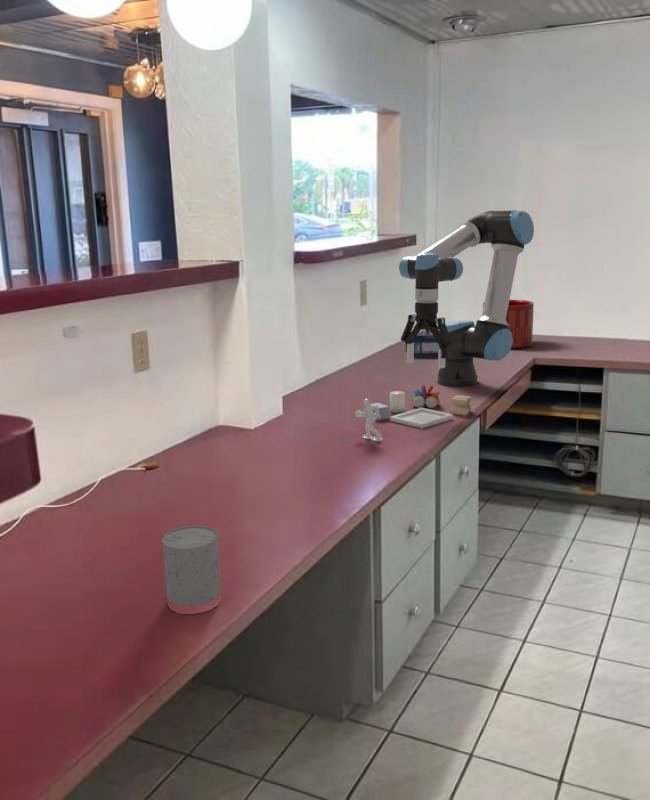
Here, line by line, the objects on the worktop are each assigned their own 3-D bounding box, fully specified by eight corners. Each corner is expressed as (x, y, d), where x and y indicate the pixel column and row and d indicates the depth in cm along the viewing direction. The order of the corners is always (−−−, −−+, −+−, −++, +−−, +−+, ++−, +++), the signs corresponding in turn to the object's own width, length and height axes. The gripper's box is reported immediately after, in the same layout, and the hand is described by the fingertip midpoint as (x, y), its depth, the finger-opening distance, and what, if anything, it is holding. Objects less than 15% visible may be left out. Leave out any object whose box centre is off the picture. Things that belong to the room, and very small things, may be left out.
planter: (475, 342, 379) (476, 300, 374) (521, 340, 382) (523, 298, 377) (490, 350, 357) (492, 306, 352) (539, 348, 359) (541, 304, 354)
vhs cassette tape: (409, 358, 346) (409, 335, 344) (409, 356, 349) (409, 334, 346) (451, 358, 344) (451, 335, 341) (451, 356, 347) (451, 334, 344)
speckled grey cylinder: (193, 583, 145) (189, 521, 142) (233, 597, 140) (229, 533, 137) (155, 605, 137) (150, 540, 134) (195, 620, 132) (190, 553, 129)
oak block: (455, 410, 259) (456, 395, 258) (470, 411, 257) (470, 396, 256) (451, 413, 255) (451, 398, 254) (466, 415, 253) (466, 400, 251)
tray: (421, 411, 258) (421, 407, 257) (452, 418, 249) (452, 414, 248) (390, 420, 248) (390, 416, 248) (421, 428, 239) (422, 424, 238)
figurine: (379, 442, 226) (378, 402, 223) (351, 438, 231) (350, 398, 228) (386, 438, 230) (386, 398, 227) (359, 434, 235) (358, 395, 232)
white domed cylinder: (396, 407, 264) (396, 390, 262) (408, 410, 260) (408, 392, 259) (386, 410, 260) (386, 393, 259) (397, 413, 257) (397, 395, 255)
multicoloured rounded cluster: (439, 409, 260) (439, 388, 259) (410, 408, 262) (410, 387, 261) (440, 403, 268) (441, 382, 267) (412, 402, 270) (412, 382, 269)
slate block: (378, 414, 256) (378, 402, 256) (389, 418, 251) (389, 406, 250) (368, 416, 255) (368, 404, 254) (378, 420, 250) (378, 408, 249)
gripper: (390, 299, 263) (390, 361, 268) (449, 305, 245) (448, 372, 250) (405, 297, 268) (405, 358, 273) (464, 303, 250) (462, 368, 255)
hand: (425, 365), depth 262 cm, fingers open, 13 cm apart
